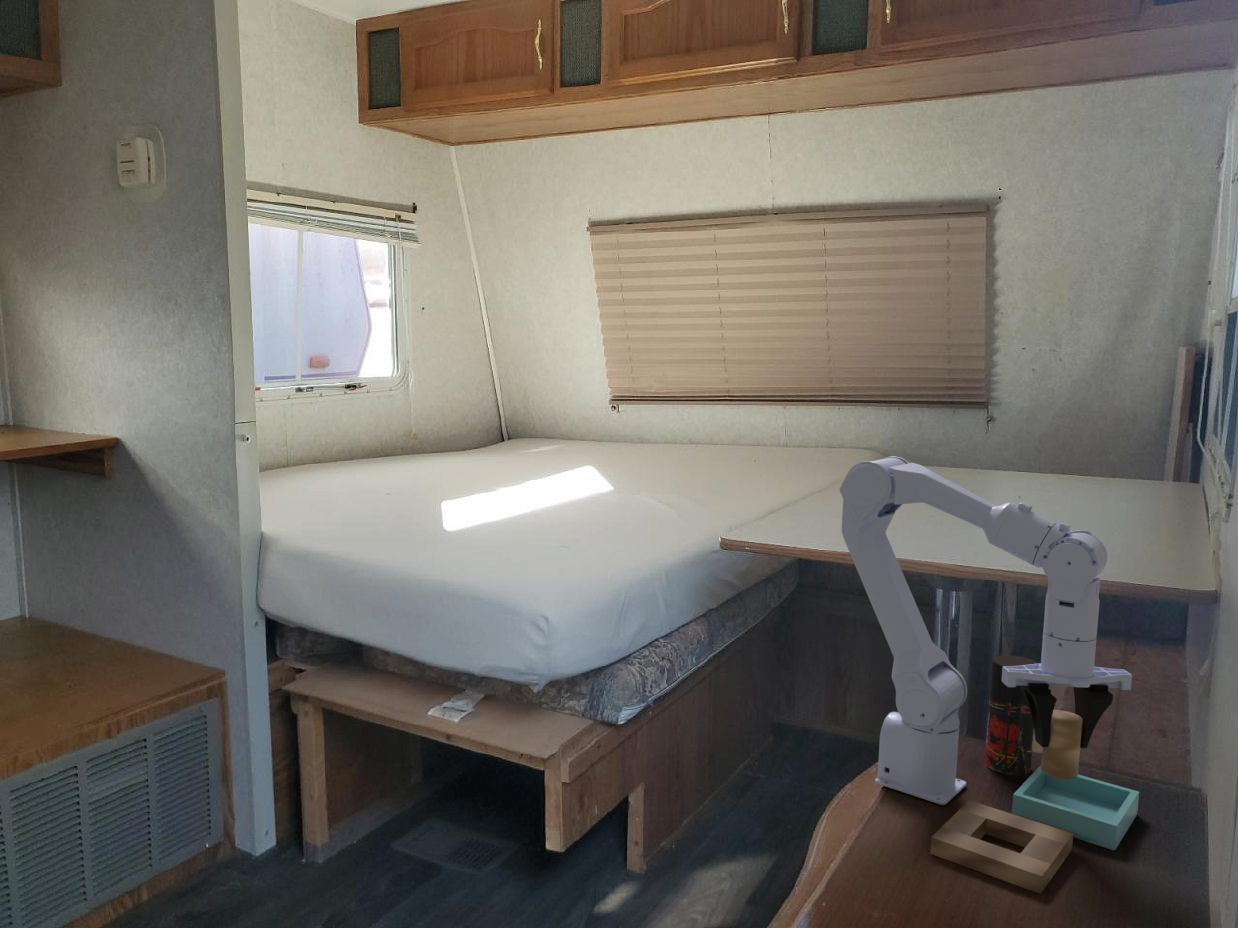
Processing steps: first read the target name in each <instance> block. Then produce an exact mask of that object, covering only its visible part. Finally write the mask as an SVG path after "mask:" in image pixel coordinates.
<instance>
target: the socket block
mask: <svg viewBox="0 0 1238 928" xmlns="http://www.w3.org/2000/svg"><path fill="white" fill-rule="evenodd" d="M985 835H987V836H990V837H993V838H996V839H999V840H1001V841H1005V842H1007V843H1010V844H1012V845H1016V846H1018V847H1021V848H1024V849H1022V851H1020V852H1018V851H1015V850H1011V849H1009V848H1005V847H1002V846H999V845H997V844H993V843H991V842H987V841H985V840H982V838H983V837H984V836H985ZM1073 841H1074V837H1073V833H1070V832H1067V831H1064V830H1061V829H1057V828H1054V827H1051V826H1048V825H1045V824H1042V823H1039V822H1036V821H1033V820H1029V819H1026V818H1023V817H1020V816H1017V815H1014V814H1012V812H1011V813H1010V812H1007V811H1005V810H1001V809H998V808H994V807H992V806H989V805H986V804H982V803H979V802H976V801H974V800H968V801H966V803H964V805H962V807H961V808H959V810H958V811H956V812H955V814H953V816H951V817H950V819H948V820H947V821H946V822H945V823H944V824H943V825H942V826H941V827H940V828H939V829H938V830H937V831H936V832H935V833H933V835H932V836H931V837H930V850H929V851H930V852H929V854H930V855H933V856H936V857H939V858H941V859H944V860H947V861H948V862H949V861H950V862H952V863H955V864H957V865H960V866H963V867H966V868H969V869H971V870H974V871H977V872H978V873H979V872H980V873H982V874H984V875H987V876H991V877H993V878H996V879H999V880H1001V881H1004V882H1005V883H1006V882H1007V883H1010V884H1012V885H1014V886H1017V887H1020V888H1022V889H1025V890H1028V891H1030V892H1034V893H1037V894H1040V895H1041V894H1042V893H1043V892H1044V890H1045V889H1046V887H1047V886H1048V884H1049V883H1050V881H1051V880H1052V878H1053V877H1054V876H1055V875H1056V873H1057V872H1058V871H1059V869H1060V867H1061V866H1062V864H1063V863H1064V862H1065V861H1066V859H1067V858H1068V856H1069V855H1070V853H1071V852H1072V851H1073Z"/></svg>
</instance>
